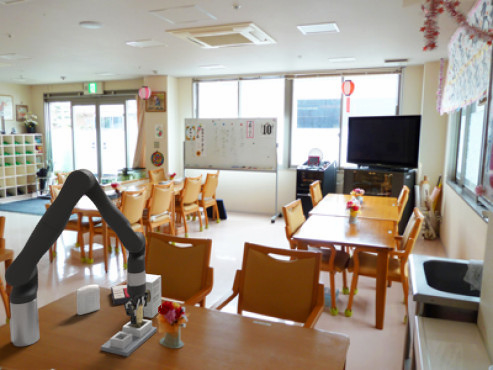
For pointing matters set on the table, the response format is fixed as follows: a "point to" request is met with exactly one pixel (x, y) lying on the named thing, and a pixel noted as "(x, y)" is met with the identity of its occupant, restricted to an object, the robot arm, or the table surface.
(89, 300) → the photo printer
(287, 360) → the table surface
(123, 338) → the grey holder tray
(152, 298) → the supplement box
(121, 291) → the printed cardboard box
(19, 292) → the robot arm
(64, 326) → the table surface
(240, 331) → the table surface
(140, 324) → the yellow bottle
